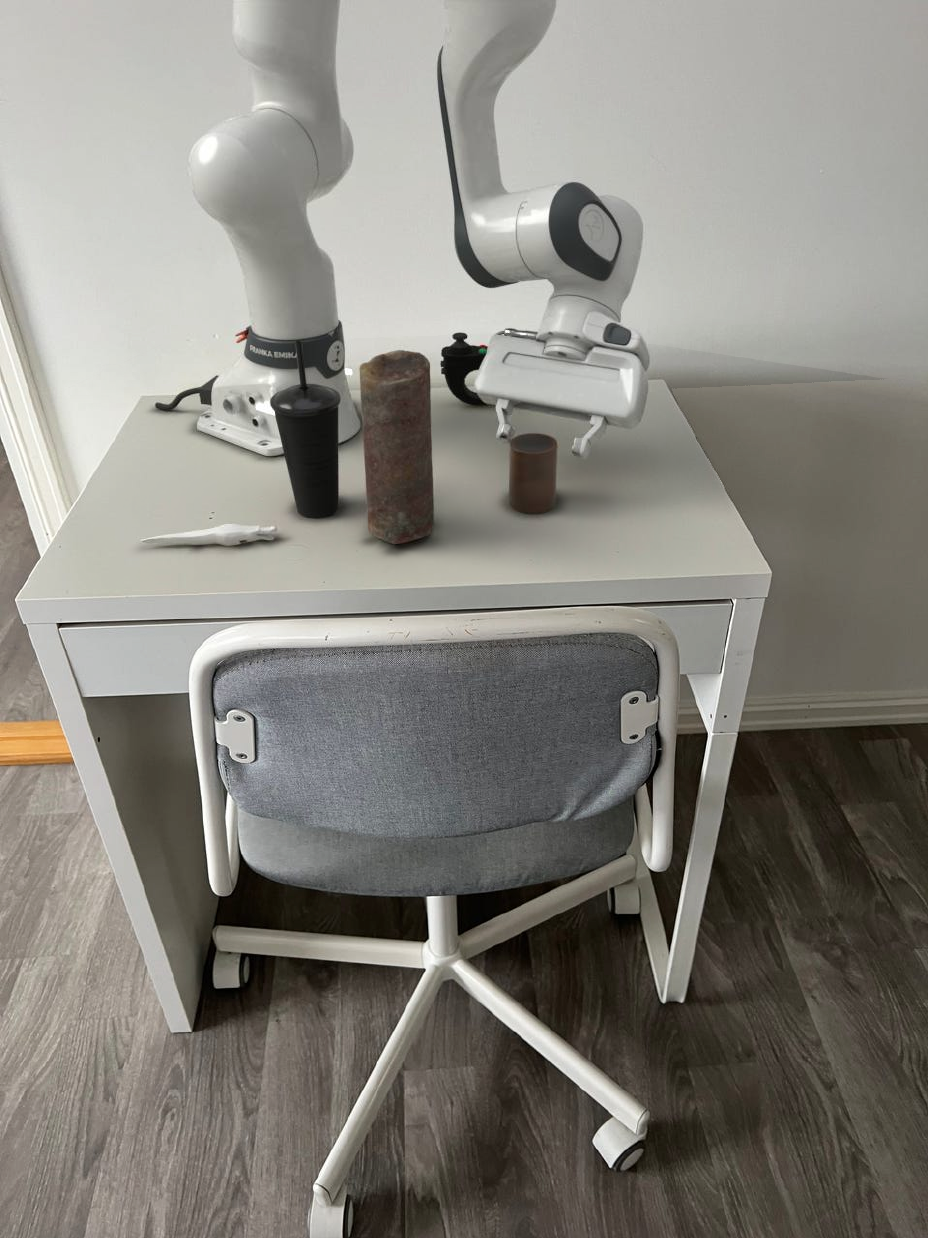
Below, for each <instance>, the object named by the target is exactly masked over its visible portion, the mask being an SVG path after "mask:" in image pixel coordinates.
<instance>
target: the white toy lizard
mask: <svg viewBox="0 0 928 1238" xmlns="http://www.w3.org/2000/svg"><path fill="white" fill-rule="evenodd" d="M277 530H278V527H277V526H276V525H273V526H272V525H271V526H262V525H244V524H238V523H225V524H220V525H217V526H215V527H210V528H205V529H197V530H192V531H184V532H177V533H170V534H169V533H168V534H163V535H157V536H152V537H147V538H143V539H141V540H139V542H141V543H144V544H151V545H189V546H190V545H191V546H192V545H193V546H200V545H201V546H202V545H212V544H218V545H221V546H226V547H232V546H237V545H241V544H245V543H250V542H251V543H252V542H256V541H259V540H265V541H274V540H275V537H273V536H272V535H269V534H272V533H275V532H277Z"/></svg>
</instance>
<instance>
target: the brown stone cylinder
mask: <svg viewBox="0 0 928 1238" xmlns="http://www.w3.org/2000/svg"><path fill="white" fill-rule="evenodd" d="M358 369H359V387H360V406H361V420H362V421H361V422H362V423H361V424H362V440H363V455H364V471H365V476H364V477H365V496H366V497H365V498H366V513H367V515H366V517H367V529H368V532H369V534H370V535H372V536H375V537H376V538H378V539H380V540H382V541H384V542H387V543H389V544H390V545H397V544H405V543H408V542H410V541H415V540H419V539H422V538H425V537H426V536H427V537H428V535H429V534H431V532H432V531H433V528H434V526H435V503H434V502H435V499H434V497H435V496H434V476H433V475H434V473H433V472H434V471H433V470H434V468H433V443H432V441H433V440H432V439H433V438H432V399H431V398H432V397H431V394H432V393H431V392H432V391H431V389H432V387H431V386H432V385H431V363H430V360H429V359H428V357H426V355H424V354H422V353H421V352H418V351H411V350H404V349H398V350H391V351H388V352H386V353H380V354H378V355H376V356H373V357H372V358H371V359H370V360H369V361H368V362H367V361H366V362H363V363H361V365H359V368H358Z"/></svg>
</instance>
